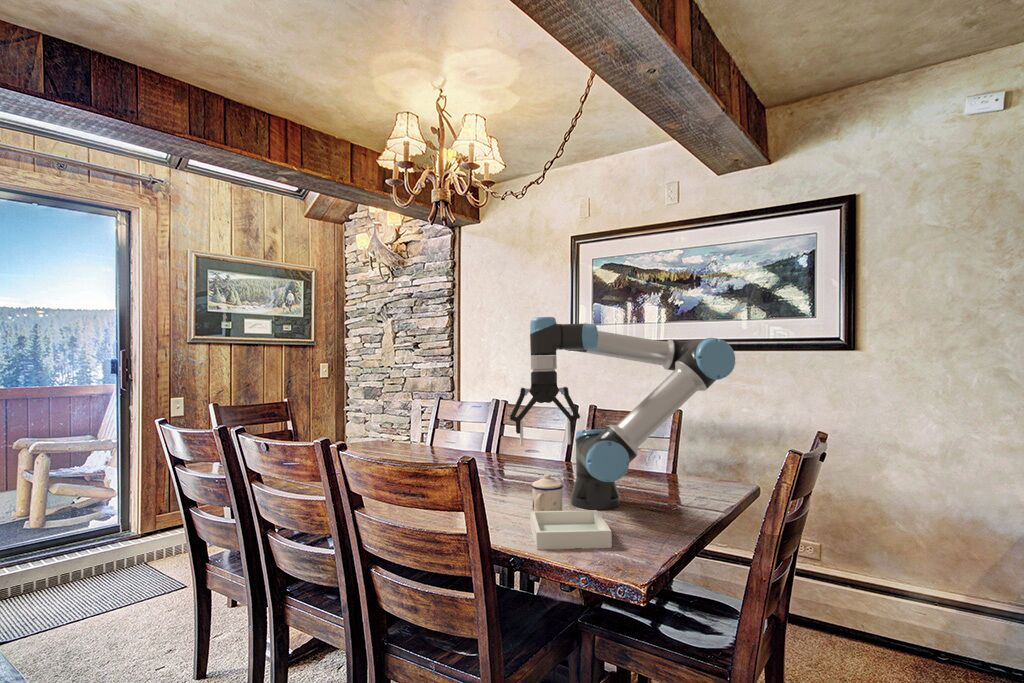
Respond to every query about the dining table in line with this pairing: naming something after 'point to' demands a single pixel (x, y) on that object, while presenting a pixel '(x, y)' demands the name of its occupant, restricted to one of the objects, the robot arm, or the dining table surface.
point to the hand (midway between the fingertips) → (545, 444)
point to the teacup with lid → (547, 494)
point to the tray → (570, 530)
